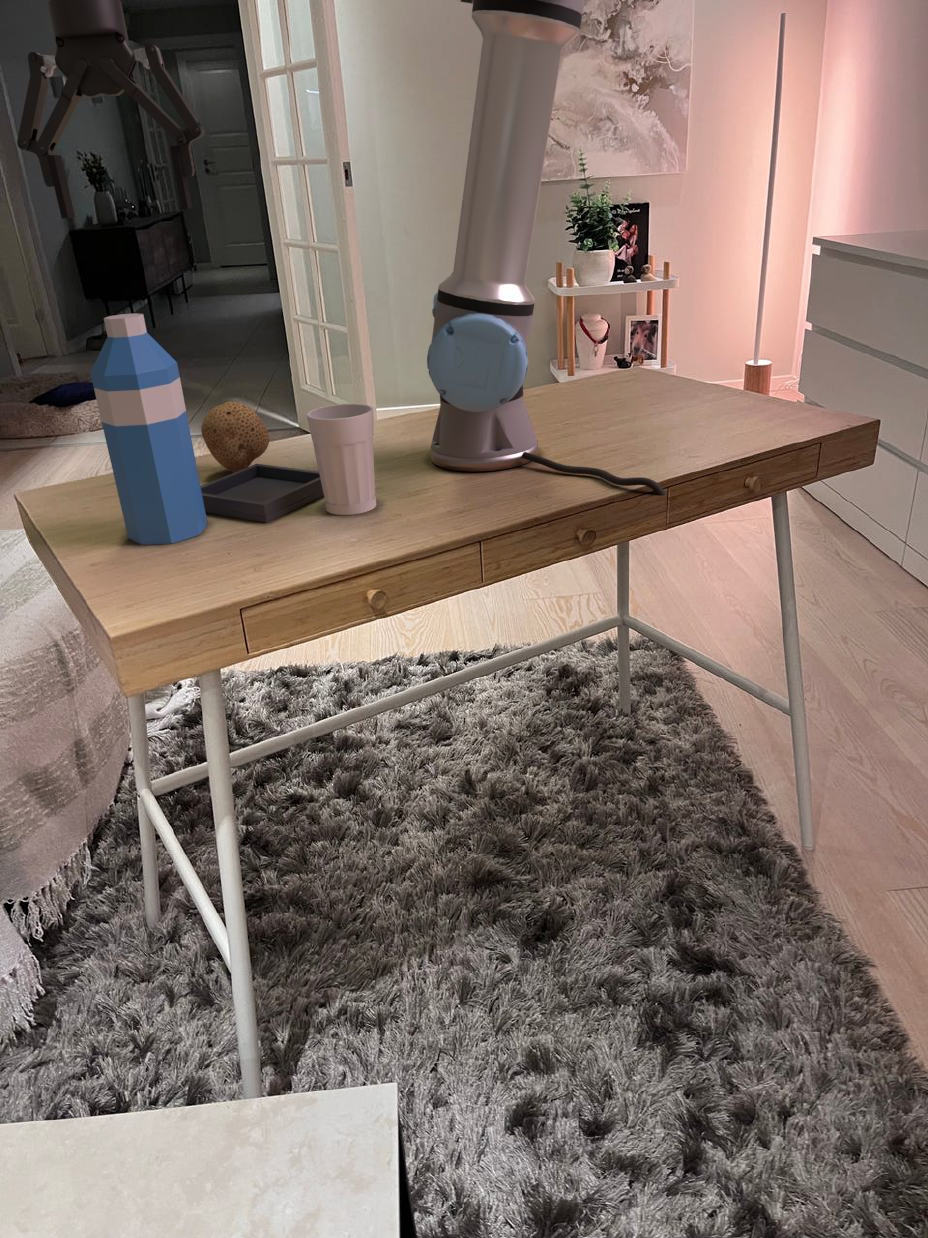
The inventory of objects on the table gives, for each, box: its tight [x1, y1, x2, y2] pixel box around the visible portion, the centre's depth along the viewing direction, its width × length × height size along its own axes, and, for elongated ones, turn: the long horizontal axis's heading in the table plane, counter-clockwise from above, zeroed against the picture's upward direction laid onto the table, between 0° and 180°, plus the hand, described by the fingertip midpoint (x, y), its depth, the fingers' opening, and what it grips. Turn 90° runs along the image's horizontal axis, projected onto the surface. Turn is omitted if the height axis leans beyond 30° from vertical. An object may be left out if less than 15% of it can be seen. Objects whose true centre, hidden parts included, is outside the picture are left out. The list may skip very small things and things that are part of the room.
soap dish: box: [200, 463, 324, 524], centre depth 122 cm, size 14×14×2 cm
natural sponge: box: [200, 400, 270, 473], centre depth 133 cm, size 9×9×10 cm
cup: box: [306, 403, 377, 516], centre depth 115 cm, size 8×8×12 cm
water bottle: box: [90, 312, 209, 546], centre depth 108 cm, size 9×9×25 cm
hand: (128, 213), depth 109 cm, fingers open, 13 cm apart
